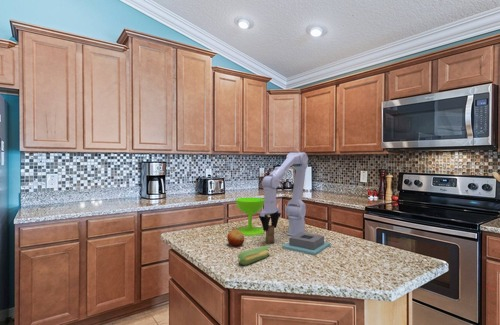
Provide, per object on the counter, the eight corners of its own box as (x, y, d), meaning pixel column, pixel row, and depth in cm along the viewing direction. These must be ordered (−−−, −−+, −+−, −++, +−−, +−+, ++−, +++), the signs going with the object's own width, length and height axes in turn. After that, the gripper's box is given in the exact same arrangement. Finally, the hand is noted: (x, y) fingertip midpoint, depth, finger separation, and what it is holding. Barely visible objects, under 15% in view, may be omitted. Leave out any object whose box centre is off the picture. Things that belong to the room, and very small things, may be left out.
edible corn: (233, 253, 111) (241, 252, 108) (267, 244, 125) (275, 243, 122) (235, 267, 110) (243, 267, 107) (269, 256, 124) (277, 255, 121)
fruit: (233, 237, 142) (239, 225, 139) (243, 249, 138) (249, 236, 134) (220, 241, 137) (226, 228, 134) (230, 253, 132) (236, 240, 129)
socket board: (299, 239, 145) (299, 230, 145) (330, 244, 136) (330, 235, 136) (282, 248, 131) (282, 238, 131) (315, 255, 121) (315, 244, 121)
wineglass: (261, 227, 169) (261, 197, 169) (266, 235, 153) (267, 201, 153) (234, 228, 167) (234, 197, 167) (236, 236, 151) (237, 201, 151)
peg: (268, 241, 142) (268, 224, 142) (275, 242, 140) (275, 226, 140) (264, 243, 139) (264, 226, 139) (271, 244, 137) (271, 227, 136)
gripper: (271, 198, 147) (270, 225, 147) (254, 202, 135) (254, 230, 136) (283, 199, 143) (282, 227, 143) (267, 203, 131) (267, 233, 132)
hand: (269, 229), depth 139 cm, fingers open, 7 cm apart
